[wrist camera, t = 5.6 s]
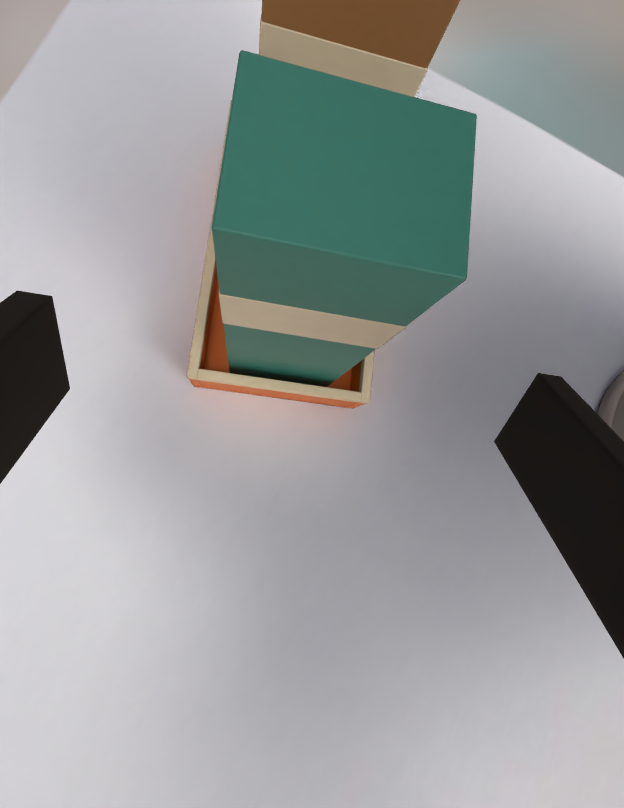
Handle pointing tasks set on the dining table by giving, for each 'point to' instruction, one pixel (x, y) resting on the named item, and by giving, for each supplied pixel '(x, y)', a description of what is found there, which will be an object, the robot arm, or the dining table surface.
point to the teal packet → (334, 218)
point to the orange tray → (213, 373)
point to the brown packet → (357, 38)
